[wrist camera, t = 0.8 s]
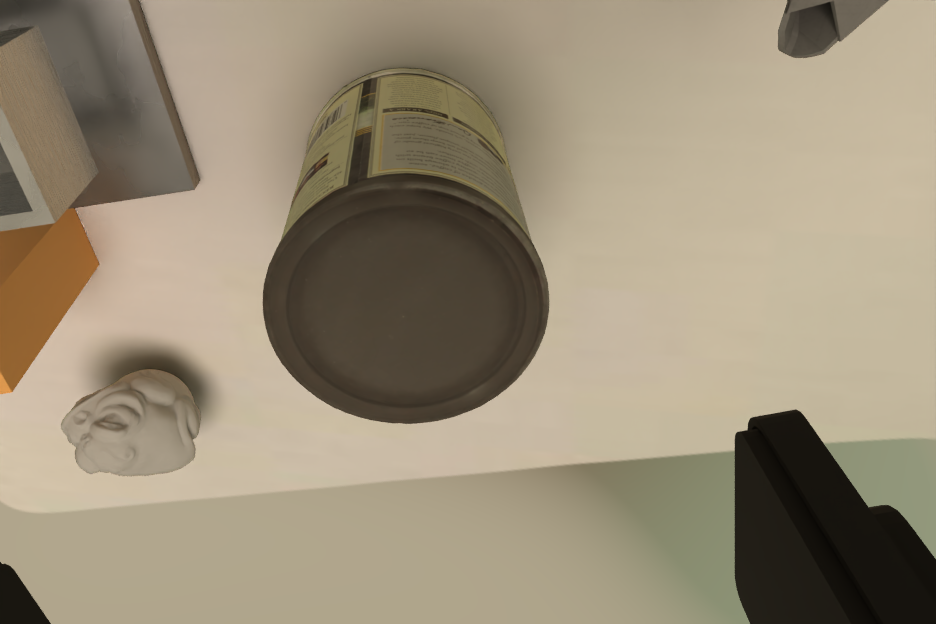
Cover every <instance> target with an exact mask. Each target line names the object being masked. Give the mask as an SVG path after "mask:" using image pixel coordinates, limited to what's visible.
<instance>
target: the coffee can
mask: <svg viewBox="0 0 936 624" xmlns="http://www.w3.org/2000/svg"><path fill="white" fill-rule="evenodd" d="M548 313H549V291H548V283H547V279H546V275H545V271H544V268H543V265H542V262H541V260H540V258H539V256H538V253H537V251H536V249H535V247H534V245H533V243H532V241H531V237H530V234H529V231H528V227H527V224H526V220H525V217H524V214H523V210H522V207H521V203H520V200H519V197H518V193H517V189H516V186H515V183H514V180H513V177H512V174H511V170H510V167H509V164H508V160H507V157H506V151H505V146H504V141H503V138H502V135H501V132H500V130H499V127H498V125H497V123H496V121H495V119H494V117H493V115H492V114H491V112H490V111H489V110H488V108H487V107H486V106H485V105H484V104H483V103H482V102H481V101H480V99H479V98H478V97H477V96H476V95H475V94H473V93H472V92H471V91H470V90H468V89H467V88H465V87H464V86H463V85H462V84H460V83H458V82H456V81H454V80H452V79H450V78H448V77H445V76H443V75H440V74H437V73H433V72H430V71H427V70H424V69H408V68H398V69H387V70H382V71H378V72H375V73H371V74H368V75H366V76H364V77H361V78H359V79H357V80H355V81H353V82H352V83H350V84H349V85H347V86H344V87H343V88H342V89H341V90H340V91H339V92H338V93H337V94H336V95H335V96H334V97H333V98H332V99H331V100H330V101H329V102H328V103H327V104H326V106H325V107H324V108H323V110H322V111H321V113H320V114H319V116H318V118H317V119H316V121H315V124H314V126H313V128H312V131H311V133H310V136H309V140H308V144H307V150H306V156H305V159H304V163H303V166H302V170H301V173H300V177H299V180H298V184H297V187H296V190H295V194H294V197H293V201H292V205H291V208H290V211H289V215H288V218H287V222H286V225H285V229H284V232H283V235H282V239H281V242H280V243H279V245H278V247H277V249H276V251H275V253H274V256H273V258H272V260H271V262H270V265H269V267H268V271H267V274H266V278H265V283H264V290H263V314H264V320H265V326H266V330H267V333H268V337H269V340H270V342H271V344H272V347H273V349H274V351H275V353H276V355H277V356H278V358H279V359H280V361H281V363H282V364H283V365H284V366H285V368H286V369H287V370H288V371H289V373H290V374H291V375H292V376H293V377H294V378H295V379H296V380H297V381H298V382H299V383H300V384H301V385H302V386H303V387H305V388H306V389H307V390H308V391H309V392H311V393H312V394H313V395H315V396H316V397H317V398H319V399H321V400H322V401H324V402H325V403H327V404H329V405H330V406H332V407H334V408H336V409H339V410H341V411H343V412H346V413H349V414H352V415H355V416H358V417H361V418H365V419H369V420H374V421H380V422H388V423H405V424H413V423H425V422H432V421H439V420H443V419H447V418H451V417H454V416H457V415H460V414H463V413H465V412H468V411H470V410H473V409H475V408H478V407H480V406H482V405H483V404H485V403H487V402H488V401H490V400H492V399H493V398H495V397H496V396H498V395H499V394H500V393H501V392H503V391H504V390H506V389H507V388H508V387H509V386H510V385H511V384H512V383H513V382H514V381H516V380H517V378H518V377H519V376H520V375H521V374H522V373H523V372H524V370H525V369H526V368H527V367H528V365H529V364H530V362H531V361H532V359H533V358H534V356H535V354H536V352H537V350H538V348H539V346H540V343H541V341H542V339H543V336H544V334H545V329H546V325H547V320H548Z"/></svg>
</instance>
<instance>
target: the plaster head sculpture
mask: <svg viewBox="0 0 936 624" xmlns="http://www.w3.org/2000/svg"><path fill="white" fill-rule="evenodd" d="M200 420H201V415H200V411H199V409H198V408H197V406H196V405H195V403H194V399H193V396H192V394H191V392H190V390H189V389H188V387H187V386H186V385H185V384H184V383H183V382H182V381H181V380H180V379H179V378H177V377H176V376H174V375H172V374H170V373H168V372H165V371H161V370H155V369H145V370H138V371H135V372H132V373H130V374H127V375H125V376H124V377H122V378H120V379H119V380H118V381H117V382H115V383H113V384H111V385H109V386H107V387H105V388H104V389H101V390H98V391H96V392H95V393H93V394H90V395H88V396H85V397H83V398H81V399H80V400H79V401H77V402H76V405H75V406H74V407H73V408H72V409H71V411H70V412H69V413H68V414H67V415H66V416H65V418H64V419H63V420H62V423H61V429H62V431H63V432H64V434H65V435H66V436H67V438H68V440H69V442H70V443H72V444H73V445H74V446H75V447H76V450H75V459H76V462H77V464H78V465H79V467H80V468H81V469H83V470H84V471H86V472H87V473H89V474H93V473H97V472H99V471H100V472H105V473H109V472H110V473H112V474H115V475H119V476H148V475H155V474H163V473H169V472H173V471H175V470H178V469H181V468H182V467H184V466H186V465H187V464H188V463H190V462H191V461H192V460H193V459H194V457H195V445H194V442H193V439H194V438H196V437H197V435H198V432H199V427H200Z"/></svg>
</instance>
